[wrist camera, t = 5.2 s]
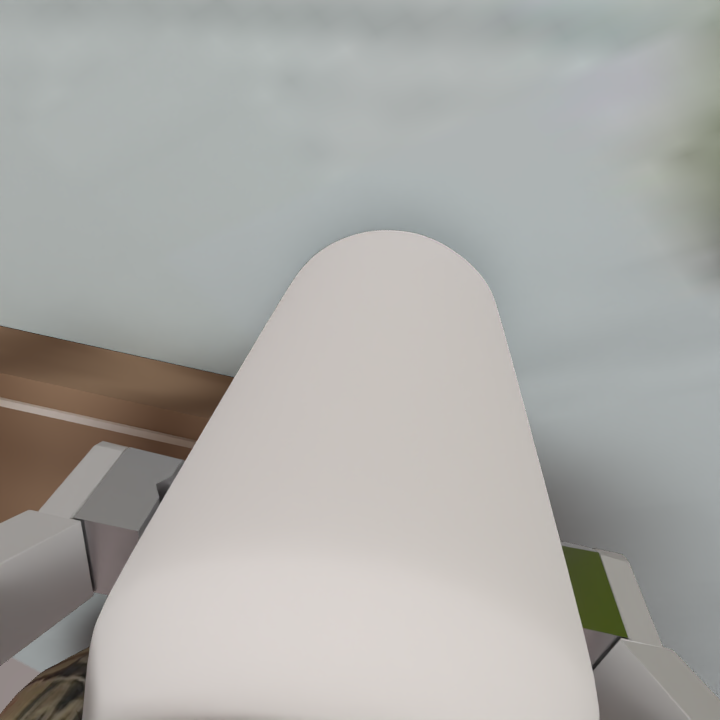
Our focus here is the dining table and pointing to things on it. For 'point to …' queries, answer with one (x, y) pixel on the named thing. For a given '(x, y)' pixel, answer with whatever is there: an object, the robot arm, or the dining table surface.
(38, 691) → the ceramic jug
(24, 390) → the plank
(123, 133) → the dining table surface
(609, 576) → the robot arm
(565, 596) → the can
